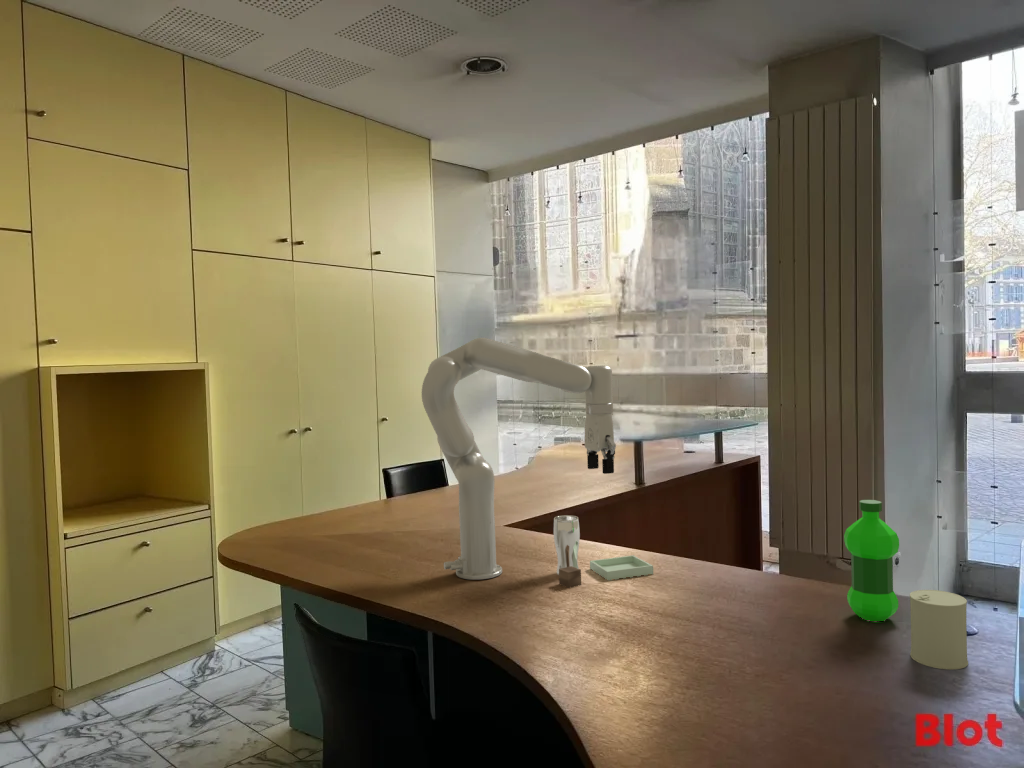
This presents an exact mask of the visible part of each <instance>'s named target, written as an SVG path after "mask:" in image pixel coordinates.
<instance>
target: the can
mask: <svg viewBox="0 0 1024 768" xmlns="http://www.w3.org/2000/svg"><path fill="white" fill-rule="evenodd" d="M909 602H910V641H911V642H910V657H911V659H912V660H913V661H915V662H917V663H918V664H921V665H923V666H926V667H929V668H934V669H939V670H947V671H948V670H949V671H950V670H955V671H956V670H961V669H965V668H967V666H968V665H969V660H968V644H967V643H968V642H967V638H968V634H967V607H968V606H967V603H968V600H967V599H966V598H965V597H964V596H962V595H959V594H957V593H955V592H950V591H944V590H937V589H919V590H918V589H917V590H913V591H911V592H910V593H909Z"/></svg>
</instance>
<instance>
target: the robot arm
mask: <svg viewBox="0 0 1024 768" xmlns="http://www.w3.org/2000/svg"><path fill="white" fill-rule="evenodd" d="M480 370H482V371H487V372H489V373H493V374H497V375H501V376H504V377H508V378H511V379H515V380H518V381H522V382H526V383H527V382H528V383H536V384H540V385H546V386H549V387H553V388H556V389H560V390H561V391H563V392H566V393H570V394H582V393H584V392H585V395H584V396H585V423H584V447H585V449H586V455H587V456H586V457H587V469H588V470H596V469H599V454H597V453H599V452H601V454H602V457H603V458H602V462H601V463H602V474H604V475H607V474H608V475H609V474H614V473H615V462H614V461H615V455H616V448H617V447H616V446H617V444H616V443H615V440H614V439H615V437H614V436H615V435H614V425H613V424H614V423H613V422H614V421H613V415H614V407H613V406H614V405H613V403H614V400H613V399H614V398H613V397H614V395H613V369H612V368H611V366H609V365H591V366H583V365H579V364H575V363H572V362H569V361H565V360H562V359H559V358H554V357H551V356H548V355H544V354H541V353H539V352H535V351H533V350H530V349H529V350H528V349H526V348H522V347H518V346H515V345H511V344H508V343H504V342H501V341H498V340H494V339H491V338H487V337H478V338H473V339H472V340H470V341H468V342H467V343H465V344H462V345H461V346H459V347H457V348H455V349H453V350H450V351H449V352H447V353H445V354H443V355H441V356H439V357H437V358H435V359H433V361H431V363H430V364H429V366H428V368H427V373H426V374H425V376H424V379H423V382H422V385H421V401H422V405H423V408H424V411H425V413H426V415H427V417H428V419H429V421H430V423H431V426H432V428H433V430H434V432H435V434H436V437H437V438H436V439H437V443H438V445H439V448H440V449H441V452H442V454H443V456H444V457H445V458H444V459H445V460H446V461H447V464H448V465H449V468H450V469H451V471H452V473H453V475H454V477H455V479H456V480H457V482H458V514H459V515H458V517H459V535H460V536H459V537H460V539H459V540H460V541H459V543H460V556H457V557H458V559H455V560H454V561H444V562H443V569H444V570H450V571H455V575H456V576H457V577H458V578H460V579H465V580H471V581H472V580H474V581H475V580H479V581H480V580H488V579H492V578H496V577H498V576H500V575H501V574H502V573H503V567H502V566H501V565H500V564H498V563H497V547H496V545H497V544H496V523H495V522H496V521H495V519H496V518H495V473H494V470H493V468H492V466H491V464H490V463H489V462H488V461H486V459H485V458H484V457H483V455H482V453H481V451H480V448H479V447H478V445H477V443H476V441H475V435H474V433H473V431H472V429H471V427H470V426H469V425H468V423H467V421H466V419H465V418H464V415H463V414H462V411H461V409H460V408H459V405H458V402H457V401H456V398H455V393H454V391H455V387H456V385H457V384H458V383H459V382H460V381H461V380H463V379H465V378H467V377H469V376H470V375H473V374H475V373H476V372H478V371H480Z"/></svg>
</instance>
